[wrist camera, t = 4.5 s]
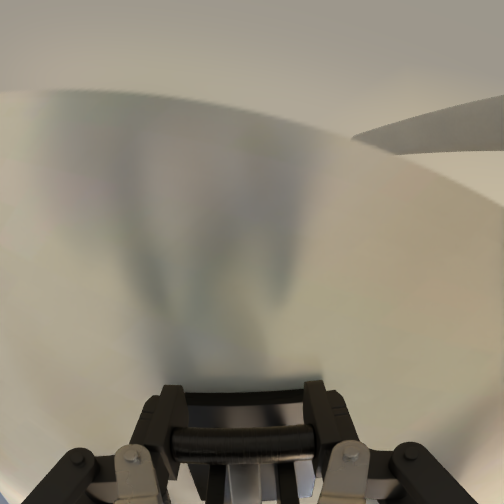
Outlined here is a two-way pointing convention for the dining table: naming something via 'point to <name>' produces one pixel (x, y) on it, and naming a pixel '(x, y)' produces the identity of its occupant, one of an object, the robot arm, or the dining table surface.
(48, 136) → the dining table surface
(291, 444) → the lever
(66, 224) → the dining table surface
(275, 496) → the bracket
